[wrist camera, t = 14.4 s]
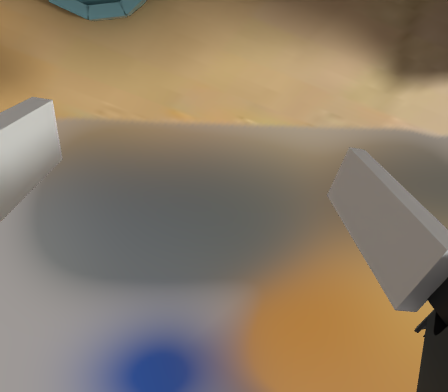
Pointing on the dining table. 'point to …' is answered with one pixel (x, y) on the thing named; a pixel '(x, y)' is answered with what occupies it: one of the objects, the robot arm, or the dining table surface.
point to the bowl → (100, 8)
